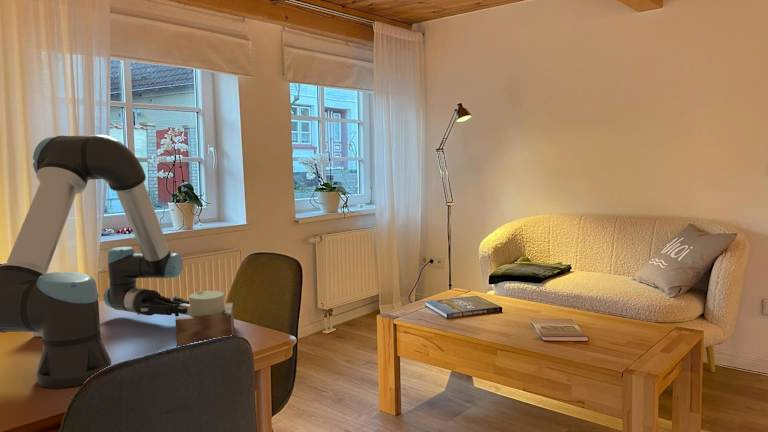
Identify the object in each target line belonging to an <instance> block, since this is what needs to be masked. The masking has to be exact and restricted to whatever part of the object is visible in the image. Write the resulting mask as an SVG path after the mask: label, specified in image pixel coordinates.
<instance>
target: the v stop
mask: <svg viewBox="0 0 768 432" xmlns="http://www.w3.org/2000/svg"><path fill="white" fill-rule="evenodd" d="M234 322H235V319H234V304H233V302H226V303H224V314H217V315H205V316H192V317H191V316H182V317H181V316H178V317H176V318H175V333H176V334H175V336H176V337H175V338H176V347H178V346H180V345H181V346H186V345H185V344H190V343H194V342H199V341H204V340H209V339H213V338H218V337H223V336H230V335H233V336H234V329H235V323H234Z"/></svg>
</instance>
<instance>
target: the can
mask: <svg viewBox="0 0 768 432" xmlns="http://www.w3.org/2000/svg"><path fill="white" fill-rule="evenodd" d="M188 297H189V304H190V315H191V316H190V317H192V316H205V315H217V314H224V309H225V293H224V292H223V291H220V290H203V291H196V292H193V293H191V294H190V295H189V296H188Z"/></svg>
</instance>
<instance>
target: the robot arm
mask: <svg viewBox="0 0 768 432" xmlns="http://www.w3.org/2000/svg"><path fill="white" fill-rule="evenodd" d="M32 160H33V163H32V166H33V167H32V168H33V170H34V172H35V174H36V178H37V180H38V182H39V184H38V187H37V189H36V192H35V194H34V197H33V199H32V201H31V202H30V205H29V208H28V210H27V213H26V216H25V217H24V219H23V223H22V224H21V228H20V230H19V232H18V234H17V236H16V239H15V242H14V244H13V247H12V249H11V250H10V253H9V256H8V258H7V260H6V262H5V263H2V264H0V333H2V334H3V333H4V334H6V333H28V332H29V333H31V332H32V333H33V332H42V337H41V338H42V351H41V355H40V359H39V361H38V366H37V370H36V374H35V375H36V383H37V385H38V386H40V387H42V388H48V389H63V388H65V389H66V388H72V387H77V386H83V385H84V384H83V383H84V382H85V381H86V380H87V379H88V378H90V377H91V376H92V375H94V374H95V373H97V372H99V371H100V370H102V369H104V368H106V367H108V366H110V365H111V366H112V360H111V358H110V356H109V353H108V351H107V348H106V347H105V345H104V342H103V340H102V335H101V323H100V308H99V297H100V295H99V292H98V287H97V281H96V280H95V278H93V277H92V276H91V275H89V274H86V273H81V272H74V271H73V272H72V271H63V272H60V271H58V272H57V271H56V272H55V271H54V272H50V273H49V272H48V270H49V267H50V265H51V262H52V260H53V257H54V255H55V251H56V249H57V245H58V243H59V241H60V239H61V237H62V233H63V230H64V228H65V225H66V221H67V219H68V217H69V214H70V211H71V209H72V206H73V204H74V201H75V198H76V195H79V194H81V193H83V192H84V191H85V189H86V187H87V184H88V182H89V181H90V180H91V181H92V180H103V181H105V182H107V184H108V187H109V189H110V190H112V191H113V192H116V195H117V197H118V200H119V202H120V206H122V209H123V213H124V214H125V216H126V218H127V221H128V224H129V225H130V228H131V231H132V234H133V235H134V238H135V240H136V242H137V245H138V247H139V249H140V252H141V253H136V252H135V249H134V247H132V246H119V247H118V246H117V247H113V248H110V249H109V250H108V252H107V264H106V265H107V266H108V267H107V269H108V279H109V286H108V287H107V288H106V289H105V291H104V294H103V302H104V304H105V305H106V306H107V307H109V308H111V309H114V310H116V311H124V312H128V313H129V312H130V313H134V314H137V315H138V316H139V315H142V316H147V317H148V316H154V315H159V316H160V315H161V316H172V315H174V317H176V318H179V317H180V315H183V316H185V315H186V316H188V317H191V315H190V300H187V299H185V298H182V297H179V295H174V296H173V297H172V298H171V297H167V296H166V297H165V296H162V295H161V294H160V293H159V292H158V291H157V290H154V289H147V288H142V287H141V288H140V287H137V279H174V278H178V277H179V276H180V275H181V273H182V272H183V267H184V261H183V257H182V255H180V253H178V252H177V253H176V252H171V250H170V248H169V245H168V243H167V241H166V237H165V235H164V232H163V230H162V227H161V225H160V222H159V219H158V216H157V214H156V211H155V209H154V205H153V203H152V200H151V197H150V196H149V191H148V189H147V187H146V184H145V181H146V180H147V177H146V176H147V175H146V173H145V169H144V168H143V166H142V164H141V163H140V161H139V159H138V157H137V156H136V155H135V154H134V153H133V152H132V150H130V149H129V147H127V146H126V145H125V144H124V143H122V141H120V140H117V139H116V138H114V137H111V136H109V135H105V134H95V135H92V134H91V135H89V134H88V135H57V136H50V137H46V138H44V139H42V140H41V141H40V142H39V143H37V145H36V146H35V149H34V152H33V155H32ZM82 384H83V385H82Z"/></svg>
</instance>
